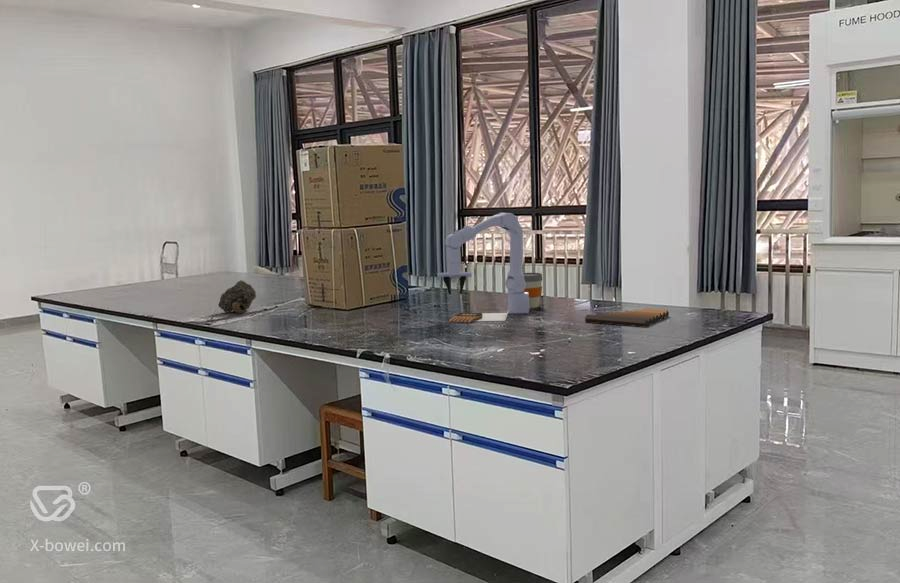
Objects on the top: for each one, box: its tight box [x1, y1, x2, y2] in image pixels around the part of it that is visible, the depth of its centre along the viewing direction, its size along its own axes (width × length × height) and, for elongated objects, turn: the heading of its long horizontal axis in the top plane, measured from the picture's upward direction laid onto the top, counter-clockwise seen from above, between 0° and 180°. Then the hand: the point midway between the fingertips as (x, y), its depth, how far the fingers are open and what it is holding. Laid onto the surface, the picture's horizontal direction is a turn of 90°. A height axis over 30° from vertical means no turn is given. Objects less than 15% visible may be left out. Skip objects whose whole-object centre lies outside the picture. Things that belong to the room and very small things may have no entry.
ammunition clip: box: [448, 312, 483, 323], centre depth 310 cm, size 11×2×12 cm
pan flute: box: [584, 308, 670, 327], centre depth 298 cm, size 25×3×25 cm
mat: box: [474, 312, 509, 323], centre depth 315 cm, size 12×18×1 cm
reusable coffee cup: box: [523, 272, 543, 309], centre depth 339 cm, size 12×13×15 cm
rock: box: [217, 280, 257, 315], centre depth 360 cm, size 18×14×15 cm
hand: (455, 294), depth 316 cm, fingers open, 4 cm apart
